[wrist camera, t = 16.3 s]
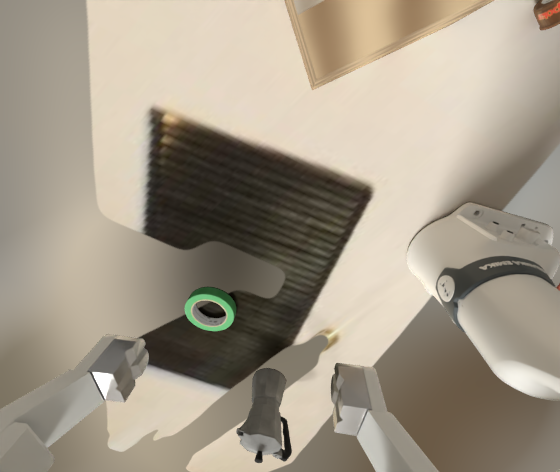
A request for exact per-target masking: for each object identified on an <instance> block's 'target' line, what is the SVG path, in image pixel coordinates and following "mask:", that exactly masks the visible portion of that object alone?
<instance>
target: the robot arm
mask: <svg viewBox="0 0 560 472" xmlns="http://www.w3.org/2000/svg"><path fill="white" fill-rule="evenodd" d="M476 211H477V213H475V212H476ZM474 213H475V214H474ZM552 241H553V228H552V227H550V226H549V225H547V224H544V223H541V222H538V221H534V220H531V219H527V218H523V217H520V216H517V215H513V214H510V213H506V212H503V211H499V210H496V209H492V208H489V207H485V206H482V205H479V204H475V203H466V204H464V205H462V206H461V207H459V208H458V209H457V210H456V211H454V212H453V213H452V214H451V215H449V216H447V217H445V218H442V219H440V220H437V221H435V222H433V223H431V224H430V225H428V226H426V227H425V228H424V229H423V230H421V231H420V232H419V233H418V234H417V235H416V236H415V238H414V239H413V241H412V242H411V244H410V246H409V248H408V252H407V264H408V267H409V269H410V271H411V272H412V274H413V275H414V276H415V277H417V278H418V279H419V280H420V281H421V282H422V283H423V286H424V288H425V290H426V291H427V292H428V293H429V294H430V295H434V296H435V298H436V299H437V300H438V301H439V302H440V303H441V304H442V306H443V307H444V308H445V310H446V311H447V313H448V314H449V316H450V317H451V320H452V321H453V322H454V323H455V324H456V325H457V326H458V328H459V329H461V330H462V331H463V332H465V333H466V334H467V335H468V337H469V338H470V339H471V341H472V342H473V344H474V345H475V347H476V348H477V349H478V351H479V352H480V353H481V355H482V356H483V358H484V359H485V361H486V362H487V363H488V365H489V366H490V368H491V369H492V371H493V372H494V373H495V374H496V376H498V377H499V378H500V379H501V380H502V381H503V382H505V383H506V384H508V385H510V386H512V387H513V388H515V389H517V390H519V391H521V392H523V393H526V394H528V395H531V396H534V397H538V398H542V399H549V400H559V401H560V284H559V285H558V286H557V288H556V287H555V285H554V283H553V282H552V280H551V279H552V278H553V276H554V275H555V273H556V271H557V269H558V266H559V263H560V254H559V252H558V250H557V249H556V248H554V247H553V246H551V245H552ZM144 346H145V341H144V339H140V338H132V337H125V336H119V335H111V334H107V335H105V336H104V337H102V338H101V340H100V341H99V342H98V343H97V344H96V345H95V346H94V347H93V348H92V350H91V351H90V352H89V353H88V354H87V355H86V356H85V357H84V359H83V360H82V361H81V362H80V363H79V364H78V365H77V366H76V368H75V369H74V370H69V371H66V372H65V373H63V374H61V375H60V376H58V377H56V378H54V379H53V380H51V381H49V382H47V383H46V384H44V385H42V386H40V387H38V388H37V389H35V390H33V391H32V392H30V393H28V394H26V395H24V396H23V397H21V398H20V399H17V400H16V401H14V402H12V403H10V404H9V405H7V406H5V407H4V408H2V409H0V472H47V471H48V470H49V468H50V467H51V465H52V464H53V462H54V456H53V455H52V453H51V452H50V451H49V450H48V449H47V448H48V447H49V446H50V445H51V444H53V443H54V442H55V441H56V440H57V439H59V438H60V437H61V436H62V435H64V434H65V433H66V432H67V431H69V430H70V429H71V428H72V427H74V426H75V425H76V424H77V423H78V422H80V421H81V420H82V419H83V418H85V417H86V416H87V415H88V414H89V413H90V412H92V411H93V410H94V409H96V408H97V407H98V406H99V405H100V404H102V403H103V402H104V400H107V401H116V402H125V401H126V400H127V398H128V396H129V395H130V393H131V392H132V390H133V388H134V387H135V379H137V378H138V377H139V376H141V375H142V374H143V372H144V370H145V369H146V366H147V363H148V359H149V355H148V351H147V350H146V349H144V348H143V347H144ZM334 369H335V374H334V375H333V376H332V380H331V399H332V402H333V403H334V405H335V406H334V410H333V421H334V432H338V433H344V434H349V435H355V436H357V439H358V440H359V442H360V444H361V445H362V447H363V449H364V451H365V453H366V454H367V456H368V458H369V460H370V461H371V463H372V465H373V467H374V469H375V470H376V472H439V471H438V470H437V469H436V468H435V467H434V465H433V464H432V463H431V461H430V460H429V459H428V458H427V457H426V455H425V454H424V453H423V452H422V450H421V449H420V448H419V447H418V445H417V444H416V443H415V442H414V441H413V439H412V438H411V437H410V435H409V434H408V433H407V432H406V431H405V429H404V428H403V427H402V426H401V424H400V423H399V422H398V421H397V419H396V418H395V417H394V416H393V414H392V413H388V412H387V409H386V405H385V402H384V398H383V394H382V390H381V387H380V383H379V380H378V376H377V372H376V370H375V368H373V367H365V366H360V365H351V364H342V363H336V365H335V368H334ZM556 472H560V469H559V470H558V471H556Z"/></svg>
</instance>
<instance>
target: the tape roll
mask: <svg viewBox="0 0 560 472" xmlns="http://www.w3.org/2000/svg"><path fill="white" fill-rule="evenodd" d="M203 300H208V301H212V302H215V303H217V304H219V305H220V306H221V307H222V308H224V310H225V312H226V315H225V316H224V317H222V318H210V317H207V316H205V315H204V314H202V313H201V312H200V311H199V310H198V307H197V305H196V303H197V302H199V301H203ZM185 313H186V316H187V318H188V319H189V320H190V321H191V322H192V323H193V324H194V325H196V326H197V327H199V328H201V329H204V330H209V331H220V330H224V329H226V328H228V327H229V326H230V325H231V324H232V322H233V320H234V317H235V314H236V305H235V302H234V300H233V299H232V298H231V297H230V296H229V295H228V293H227V292H225V291H223V290H221V289H218V288H215V287H202V288H199V289H197V290H195V291H194V292H193V293H192V294H191V295H190V297H189V299H188V301H187V302H186V304H185Z"/></svg>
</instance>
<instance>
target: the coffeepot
mask: <svg viewBox="0 0 560 472" xmlns="http://www.w3.org/2000/svg"><path fill="white" fill-rule="evenodd" d="M285 384H286V379H285V377H284V375H283V374H282V373H280V372H279V371H277V370H275V369H270V368H264V369H260V370H258V371H256V373H255V374H254V377H253V383H252V403H253V405H252V408H251V410H250V412H249V416H248V418H247V420H246V421H245V423H244V424H243V425H242V426H241V427H240V428H237V434H238V436H239V437H240V438H241V441H240V444H241V445H242V446H243V447H244V448H245V449H246V450H247V451H249V452H253V453H256V454H257V455H256V458H255V462H257V463H262V455H269V454H272V455H273V456H274V457H276V458H277V459H281V460H282V461H286V460H287V459H288V458H289V457H290V455H291V453H292V450H291V444H290V437H289V430H288V424H287V420H286V419H285V418H283V417H281V416H280V412H279V407H280V404H281V401H282V397H283V392H284V388H285ZM281 422H282V423H283V435H284V447H285V450H283V449H282V437H281Z"/></svg>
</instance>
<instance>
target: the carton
mask: <svg viewBox="0 0 560 472" xmlns="http://www.w3.org/2000/svg"><path fill="white" fill-rule="evenodd" d="M492 1H494V0H285V3H286V7H287V10H288V13H289V16H290V20H291V23H292V26H293V29H294V33H295V36H296V39H297V42H298V46H299V49H300V52H301V55H302V59H303V62H304V65H305V68H306V72H307V75H308V78H309V81H310V85H311V88H312V90H314V89H316V88H318V87H320V86H322V85H324V84H326V83H329V82H331V81H333V80H335V79H337V78H339V77H341V76H343V75H345V74H348V73H350V72H352V71H354V70H356V69H358V68H360V67H362V66H365V65H367V64H369V63H371V62H373V61H375V60H377V59H379V58H381V57H384V56H386V55H388V54H390V53H392V52H394V51H396V50H398V49H400V48H403V47H405V46H407V45H409V44H411V43H413V42H415V41H417V40H419V39H422V38H424V37H426V36H428V35H430V34H432V33H434V32H436V31H438V30H441V29H443V28H445V27H447V26H449V25H451V24H453V23H455V22H457V21H458V20H460V19H462V18H464V17H465V16H467V15H469V14H471V13H473V12H474V11H476V10H478V9H480V8H481V7H483V6H485V5H487V4H489V3H490V2H492Z"/></svg>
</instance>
